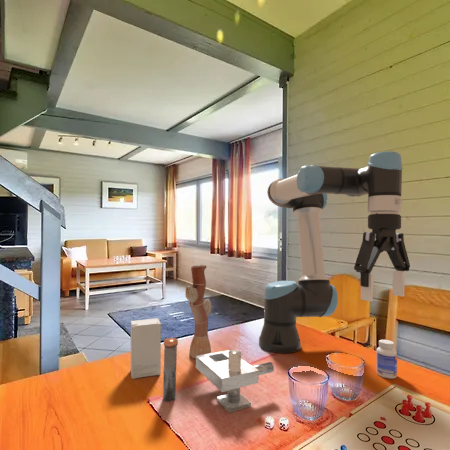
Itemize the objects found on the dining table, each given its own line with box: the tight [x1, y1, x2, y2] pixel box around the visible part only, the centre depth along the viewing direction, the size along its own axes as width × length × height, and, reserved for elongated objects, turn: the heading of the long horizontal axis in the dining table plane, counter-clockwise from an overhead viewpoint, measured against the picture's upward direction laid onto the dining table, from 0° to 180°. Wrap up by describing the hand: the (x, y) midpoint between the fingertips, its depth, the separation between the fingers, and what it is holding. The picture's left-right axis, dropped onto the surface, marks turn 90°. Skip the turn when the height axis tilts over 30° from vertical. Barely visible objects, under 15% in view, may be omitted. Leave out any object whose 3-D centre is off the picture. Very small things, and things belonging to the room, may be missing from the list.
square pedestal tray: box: [195, 349, 275, 413], centre depth 79 cm, size 14×16×12 cm
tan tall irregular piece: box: [185, 264, 212, 360], centre depth 103 cm, size 10×7×30 cm
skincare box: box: [130, 317, 162, 380], centre depth 89 cm, size 8×6×15 cm
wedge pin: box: [162, 337, 179, 402], centre depth 76 cm, size 3×3×14 cm
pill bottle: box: [375, 339, 398, 379], centre depth 91 cm, size 5×5×10 cm
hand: (383, 298), depth 78 cm, fingers open, 13 cm apart
